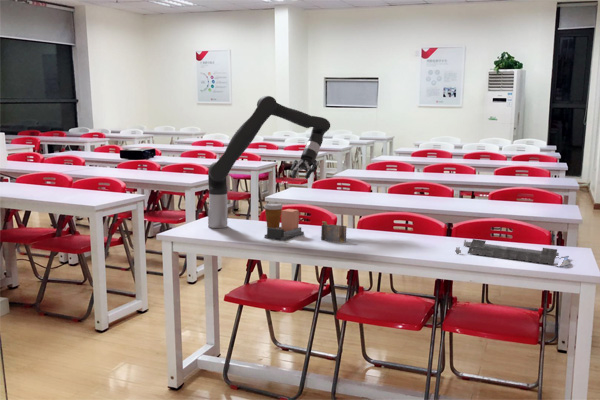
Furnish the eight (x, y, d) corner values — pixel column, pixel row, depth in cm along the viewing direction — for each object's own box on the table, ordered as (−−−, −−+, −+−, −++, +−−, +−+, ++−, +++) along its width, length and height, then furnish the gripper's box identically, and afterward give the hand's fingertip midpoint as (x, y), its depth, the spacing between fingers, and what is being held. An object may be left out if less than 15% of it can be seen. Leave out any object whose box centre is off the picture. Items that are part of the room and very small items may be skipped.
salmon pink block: (288, 228, 285) (288, 208, 284) (298, 230, 282) (298, 210, 281) (281, 230, 280) (281, 210, 279) (291, 232, 277) (291, 211, 276)
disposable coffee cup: (261, 228, 296) (261, 205, 295) (267, 224, 305) (267, 202, 304) (278, 229, 294) (279, 206, 292) (284, 226, 303) (285, 203, 301)
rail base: (285, 231, 288) (285, 222, 287) (303, 234, 282) (303, 224, 281) (264, 237, 274) (264, 227, 273) (283, 240, 268) (283, 230, 267)
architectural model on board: (320, 241, 270) (321, 220, 269) (323, 239, 273) (323, 219, 271) (344, 243, 266) (344, 222, 264) (346, 242, 269) (346, 221, 267)
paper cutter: (465, 246, 263) (466, 234, 262) (573, 260, 240) (574, 247, 239) (453, 254, 248) (454, 241, 247) (567, 269, 225) (568, 256, 224)
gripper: (296, 147, 300) (284, 173, 293) (318, 147, 291) (307, 174, 284) (303, 156, 305) (291, 181, 298) (325, 156, 296) (314, 182, 290)
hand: (299, 178), depth 291 cm, fingers open, 8 cm apart
